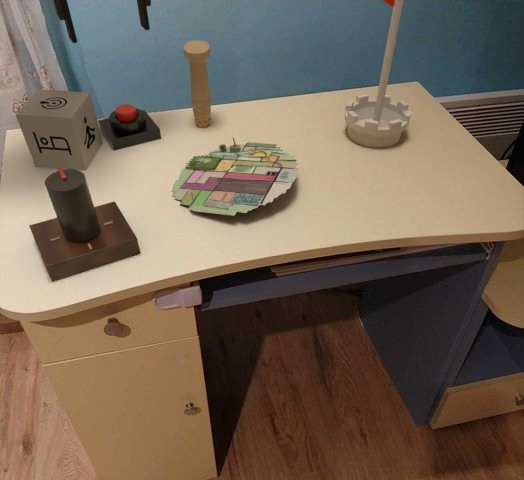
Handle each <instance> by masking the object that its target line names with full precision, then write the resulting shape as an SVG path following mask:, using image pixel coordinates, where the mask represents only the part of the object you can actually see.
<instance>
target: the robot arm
mask: <svg viewBox="0 0 524 480" xmlns="http://www.w3.org/2000/svg"><path fill="white" fill-rule="evenodd" d="M52 3H53V7H54V12H55V15H56V16H57V18H58V19H59V21H64V24H65V28H66V32H67V35H68V39H69V40H70V41H71V43H73V44H77V43H78V38H77V35H76V31H75V28H74V23H73V19H72V14H71V12H70V8H69V3H68V0H52ZM136 5H137V10H138V11H137V12H138V16H139V23H140V26H141V27H142V28H143V29H144V30H145V31H150V29H151V28H150V21H149V13H148V7H151V5H152V0H136Z"/></svg>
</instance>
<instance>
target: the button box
mask: <svg viewBox="0 0 524 480" xmlns="http://www.w3.org/2000/svg"><path fill="white" fill-rule="evenodd" d="M135 108H136V113H137V118H136V119H134V120H131V121H119V120H118V119H117V116H116V111H115V110H114V111H112V112H110V113H109V117H107V118H104V119H99V120H97V122H98V126H99V130H100V133H101V134H102V135H103V136H104V138H105V139H106V141H107V143H108V144H109V145H110V147H111V148H112V150H113V151H117V150H123V149H127V148H130V147H134V146H138V145H142V144H147V143H150V142H155V141H157V140H162V135H161V129H160V127H159V126H158V124H156V122H155V121H154V120H153V118H152V117H151V116H150V115H149V113H147V112H146V110H145V109H139V108H137V107H135Z"/></svg>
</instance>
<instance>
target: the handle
mask: <svg viewBox="0 0 524 480" xmlns="http://www.w3.org/2000/svg"><path fill="white" fill-rule="evenodd" d="M183 55H184V57H185V59H187V60H188V64H189V78H190V100H191V107H192V108H191V109H192V114H193V117H194V123H195V125H196V126H198V128H204V129H205V128H206V129H207V127H208V126H210V125H211V123H212V121H211V120H212V118H211V115H212V114H211V113H212V106H211V105H212V103H211V92H210V91H211V90H210V84H209V73H208V66H207V59H208V58H210V57H211V48H210V44H209V43H208V42H207V41H206V40H199V39H198V40H197V39H195V40H189V41H187V42H185V43H184V45H183Z"/></svg>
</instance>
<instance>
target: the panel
mask: <svg viewBox="0 0 524 480" xmlns="http://www.w3.org/2000/svg"><path fill="white" fill-rule="evenodd" d="M94 208H95V211H96V214H97V218H98V221H99V225H100V228H101V229H100V233H99V234H98V235H97V236H96V237H95V238H94V239H92V240H90V241H87V242H81V243H75V242H71V241H69V240H67V239H66V238H65V237H64V234H63V232H62V229H61V226H60V224H59V221H58V218H57V217H54V218H50V219H47V220H43V221H40V222H39V221H38V222H37V223H32V224H30V225H28V227H29V229H30V231H31V235H32V237H33V239H34V242H35V244H36V247H37V250H38V252H39V254H40V257H41V259H42V261H43V264H44V267H45V269H46V271H47V274H48V276H49V278H50V280H51V282H56V281H58V280H61V279H64V278H68V277H70V276H74V275H77V274H80V273H82V272H83V273H84V272H86V271H90V270H92V269H95V268H99V267H102V266H105V265H108V264H111V263H114V262H117V261H121V260H123V259H124V260H125V259H127V258H129V257H133V256H136V255H139V254H141V249H140V244H139V240H138V237H137V236H136V234H135V232H134V231H133V229H132V227H131V226H130V224H129V222H128V221H127V218H125V216H124V214H123V213H122V211H121V209H120V208H119V206H118V204H117V203H116V201H111V202H108V203H103V204H99V205H97V206H94Z"/></svg>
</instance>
